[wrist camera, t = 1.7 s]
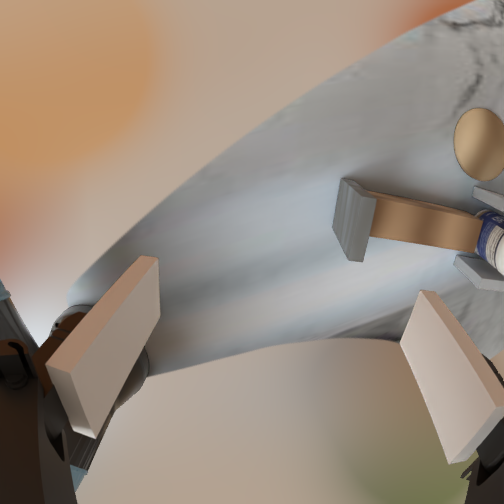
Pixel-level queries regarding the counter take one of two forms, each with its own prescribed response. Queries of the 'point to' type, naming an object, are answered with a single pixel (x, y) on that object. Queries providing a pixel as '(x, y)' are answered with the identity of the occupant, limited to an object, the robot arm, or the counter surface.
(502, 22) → the counter surface
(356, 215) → the sliding block
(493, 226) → the pill bottle
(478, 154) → the coaster
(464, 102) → the counter surface
